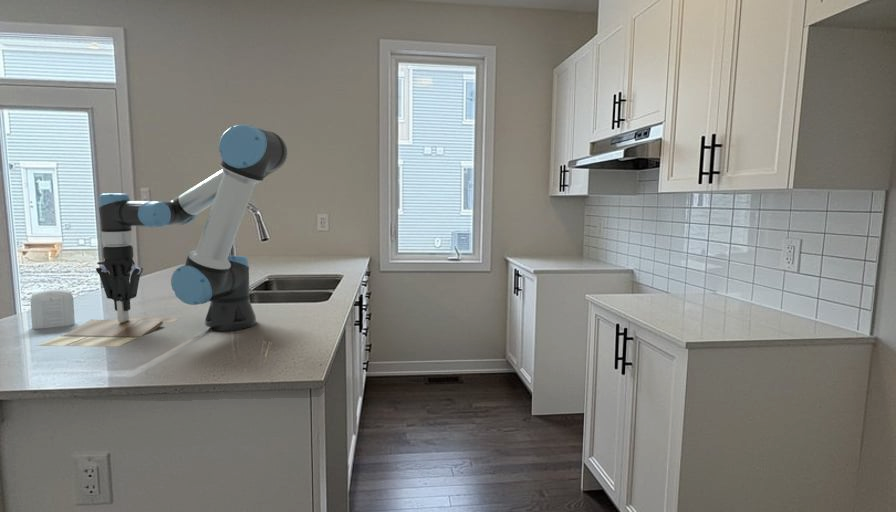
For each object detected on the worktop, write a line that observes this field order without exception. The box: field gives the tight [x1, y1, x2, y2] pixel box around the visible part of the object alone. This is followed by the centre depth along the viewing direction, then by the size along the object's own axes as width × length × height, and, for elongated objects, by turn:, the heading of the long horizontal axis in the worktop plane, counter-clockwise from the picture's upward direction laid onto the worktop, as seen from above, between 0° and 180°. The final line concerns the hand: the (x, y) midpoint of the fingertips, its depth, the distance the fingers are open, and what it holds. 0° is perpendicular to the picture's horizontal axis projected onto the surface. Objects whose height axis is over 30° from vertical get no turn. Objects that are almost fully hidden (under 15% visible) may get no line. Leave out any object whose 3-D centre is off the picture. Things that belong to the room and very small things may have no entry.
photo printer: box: [29, 289, 76, 330], centre depth 146 cm, size 10×4×12 cm, turn 123°
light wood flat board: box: [37, 334, 140, 348], centre depth 132 cm, size 22×9×1 cm, turn 90°
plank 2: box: [113, 317, 181, 324], centre depth 155 cm, size 20×6×1 cm, turn 95°
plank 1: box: [64, 319, 164, 338], centre depth 143 cm, size 22×11×1 cm, turn 90°
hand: (123, 320), depth 147 cm, fingers closed
